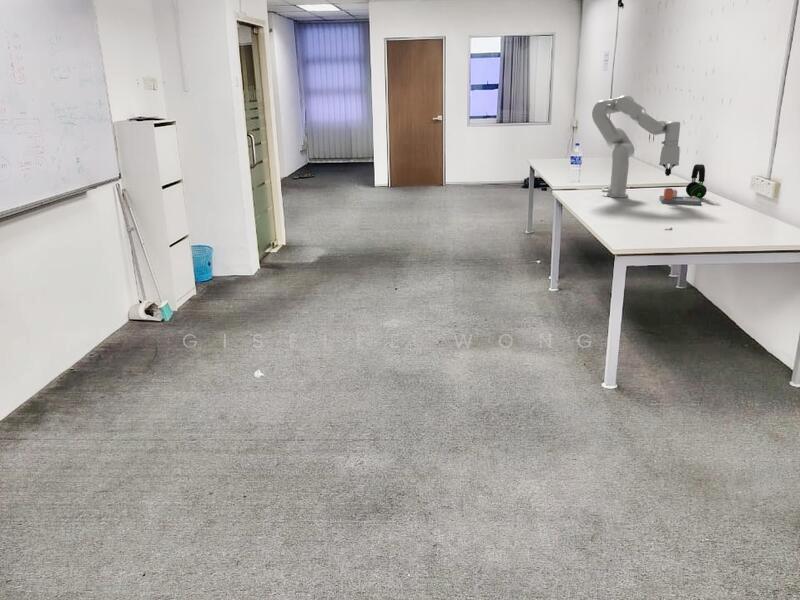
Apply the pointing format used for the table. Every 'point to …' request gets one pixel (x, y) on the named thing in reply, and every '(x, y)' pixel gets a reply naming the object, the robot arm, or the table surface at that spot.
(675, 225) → the table surface
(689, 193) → the headphones
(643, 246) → the table surface
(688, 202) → the panel
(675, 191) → the block
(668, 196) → the cap
